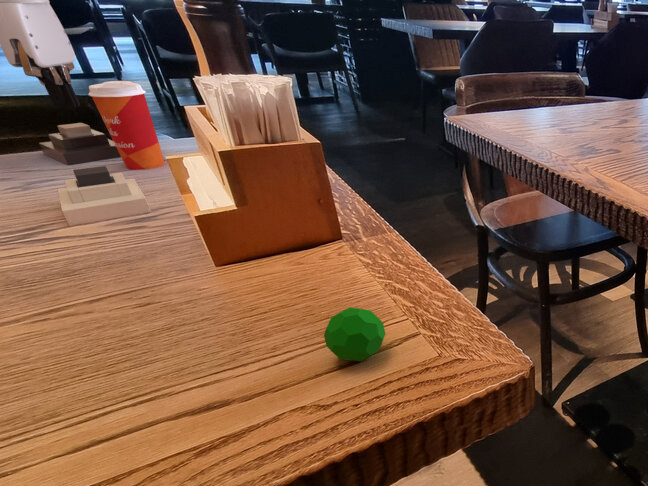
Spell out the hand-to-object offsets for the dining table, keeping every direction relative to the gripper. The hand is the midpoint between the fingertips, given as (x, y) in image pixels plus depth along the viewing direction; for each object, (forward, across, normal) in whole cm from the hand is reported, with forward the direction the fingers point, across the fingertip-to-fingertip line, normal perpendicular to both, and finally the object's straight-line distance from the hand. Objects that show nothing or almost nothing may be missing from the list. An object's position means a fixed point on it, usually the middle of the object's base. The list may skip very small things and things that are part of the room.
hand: (67, 106), depth 96 cm
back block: (+9, 0, 0) cm, 9 cm away
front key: (+5, +31, +20) cm, 37 cm away
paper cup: (+9, +8, +14) cm, 18 cm away
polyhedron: (+9, +75, +64) cm, 99 cm away
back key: (+5, 0, 0) cm, 5 cm away
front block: (+9, +31, +20) cm, 38 cm away
